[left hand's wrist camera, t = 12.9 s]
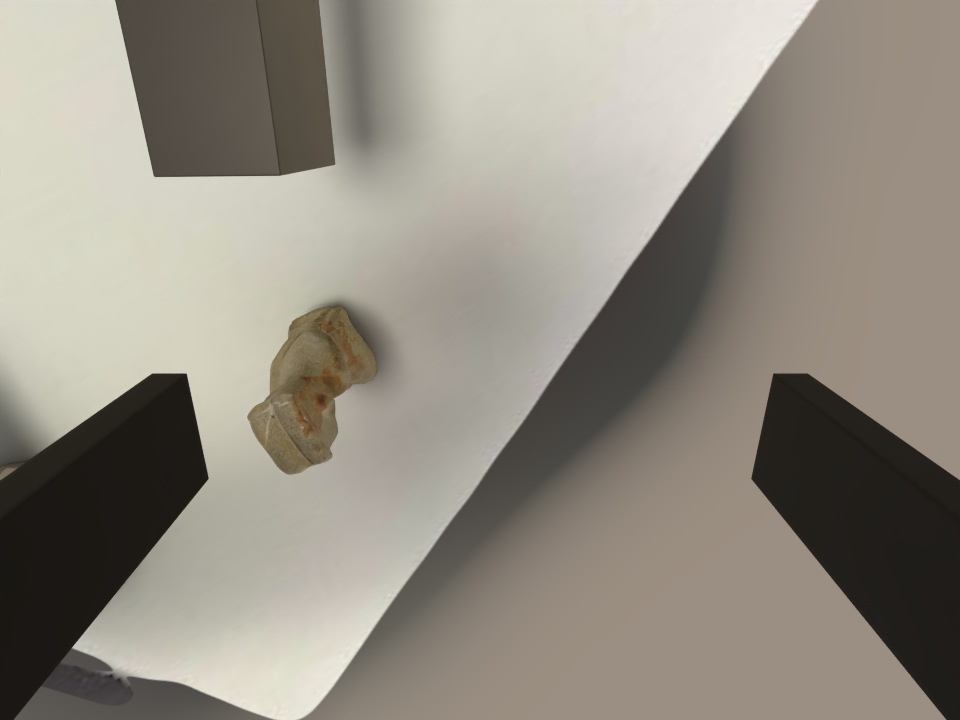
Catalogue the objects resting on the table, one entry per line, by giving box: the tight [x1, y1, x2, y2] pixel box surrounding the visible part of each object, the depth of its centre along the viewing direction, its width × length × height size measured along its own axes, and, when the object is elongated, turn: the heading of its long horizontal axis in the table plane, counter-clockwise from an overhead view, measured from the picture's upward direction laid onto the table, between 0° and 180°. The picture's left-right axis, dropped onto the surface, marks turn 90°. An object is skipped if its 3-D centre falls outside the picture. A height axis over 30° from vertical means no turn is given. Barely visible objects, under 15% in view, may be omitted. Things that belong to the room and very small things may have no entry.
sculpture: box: [248, 307, 377, 475], centre depth 39 cm, size 6×7×15 cm
